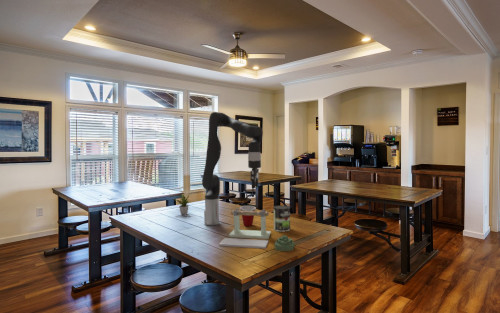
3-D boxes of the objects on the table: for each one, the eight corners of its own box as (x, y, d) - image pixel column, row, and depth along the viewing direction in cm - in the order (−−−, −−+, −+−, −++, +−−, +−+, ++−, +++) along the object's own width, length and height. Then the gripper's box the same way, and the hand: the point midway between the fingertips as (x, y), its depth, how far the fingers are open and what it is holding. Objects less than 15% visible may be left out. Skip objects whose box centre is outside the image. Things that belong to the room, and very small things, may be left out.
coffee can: (293, 230, 184) (293, 207, 183) (279, 232, 179) (279, 209, 178) (284, 226, 193) (283, 204, 192) (270, 228, 188) (270, 206, 187)
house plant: (185, 210, 244) (185, 190, 243) (197, 212, 236) (197, 192, 235) (171, 214, 232) (171, 193, 231) (183, 216, 224) (183, 194, 223)
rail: (231, 215, 176) (231, 211, 176) (232, 214, 178) (232, 210, 178) (267, 216, 171) (267, 212, 171) (268, 215, 173) (268, 211, 173)
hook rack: (228, 237, 173) (228, 211, 172) (233, 231, 182) (233, 207, 182) (268, 239, 168) (267, 212, 167) (270, 233, 177) (270, 208, 177)
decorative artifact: (296, 250, 150) (290, 244, 159) (296, 236, 149) (290, 231, 159) (277, 252, 148) (272, 245, 158) (277, 238, 148) (272, 232, 158)
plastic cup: (245, 228, 189) (244, 209, 189) (237, 224, 199) (236, 206, 198) (259, 225, 195) (259, 207, 194) (251, 222, 204) (250, 204, 204)
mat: (218, 245, 158) (218, 243, 158) (224, 239, 168) (224, 238, 168) (265, 248, 153) (265, 246, 153) (268, 242, 163) (268, 240, 163)
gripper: (250, 159, 184) (251, 185, 185) (245, 160, 170) (246, 188, 171) (262, 159, 183) (262, 185, 183) (258, 160, 169) (259, 189, 169)
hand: (254, 187), depth 177 cm, fingers open, 8 cm apart
